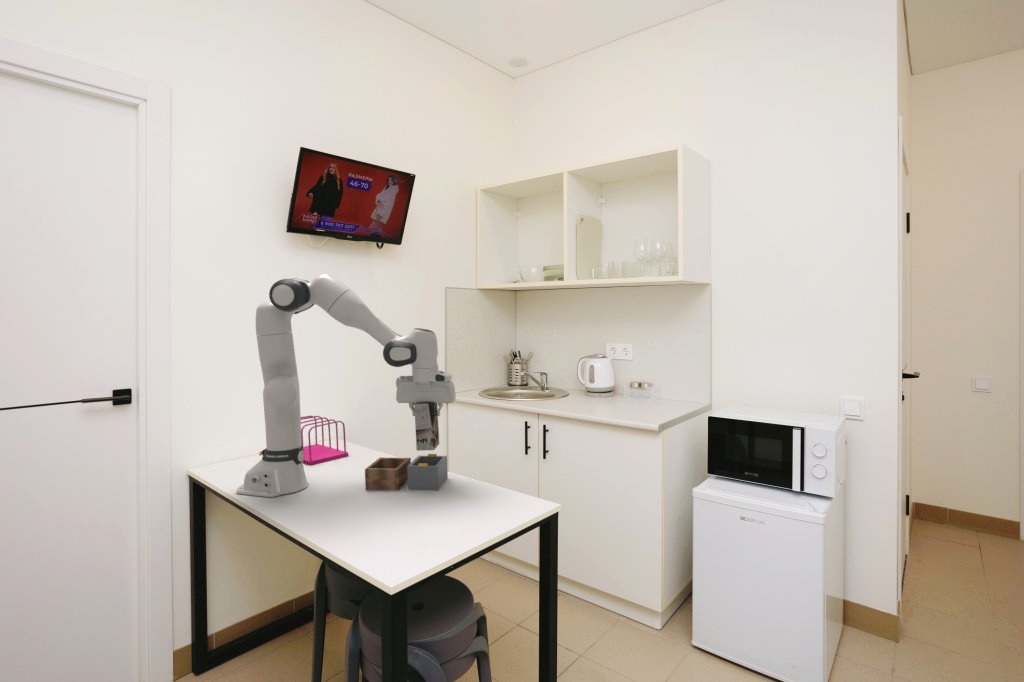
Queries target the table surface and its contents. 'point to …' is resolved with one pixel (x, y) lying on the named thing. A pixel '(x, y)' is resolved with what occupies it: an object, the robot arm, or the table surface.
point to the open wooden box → (387, 474)
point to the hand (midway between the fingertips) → (426, 415)
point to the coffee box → (426, 426)
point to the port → (427, 472)
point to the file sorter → (321, 452)
